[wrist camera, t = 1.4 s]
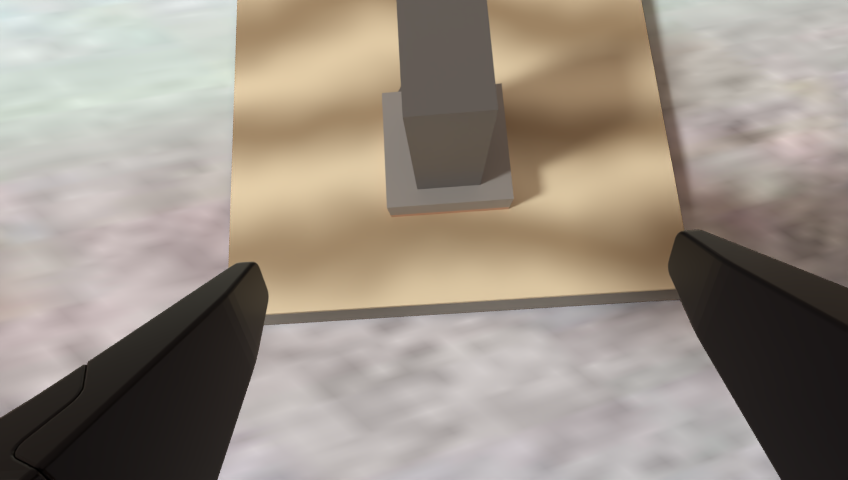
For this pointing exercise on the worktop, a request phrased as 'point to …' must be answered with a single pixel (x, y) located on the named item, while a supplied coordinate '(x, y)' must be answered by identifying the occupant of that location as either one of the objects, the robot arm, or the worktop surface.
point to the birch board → (452, 232)
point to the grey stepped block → (445, 114)
